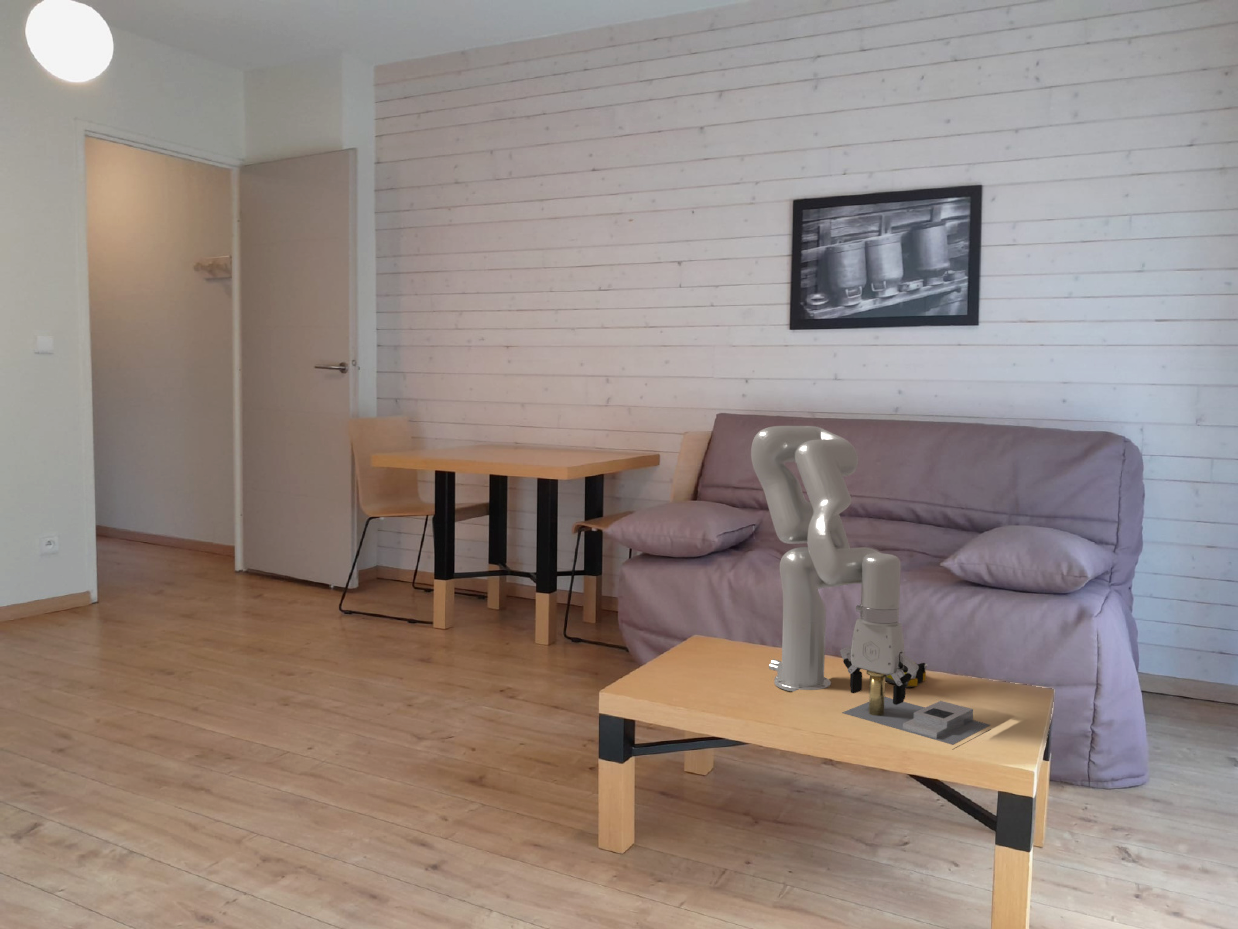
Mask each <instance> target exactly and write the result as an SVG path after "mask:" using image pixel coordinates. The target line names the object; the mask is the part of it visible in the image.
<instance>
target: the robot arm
mask: <svg viewBox="0 0 1238 929" xmlns="http://www.w3.org/2000/svg"><path fill="white" fill-rule="evenodd" d="M750 449H751V450H750V459H751V464H752V467H753V471H754V472H755V475H756V477H757V479H758V481H759V483H760V486H761V487H762V490H763V493H764V495H765V499H766V504H767V507H768V511H769V514H770V518H771V521H772V524H773V528H774V531H775V534H776V536H777V538H778V539H779V541H780V542H782V543H784V544H788V545H789V544H792V545H796V544H807V546H801V547H795V548H792V549H789V550H788V551H786V552H785V553H784V554H783V555H782V557H781V559H780V562H779V575H780V582H781V589H782V641H781V642H782V644H781V648H782V649H781V661H780V660H778V659H775V658H773V659H772V660H771V661H770V663H769V665H768V669H769V670H772V671H776V672H777V675H776V676H775V677H774V681H773V683H774V685H775V686H776V687H777V688H780V689H782V690H783V691H788V692H791V691H792V692H795V691H796V692H797V691H799V690H801V691H802V690H803V691H816V690H818V691H819V690H823V689H826V688H829V687H830V686H832V685H831V684H832V681H831V680H830V679H828V678H827V677H825V659H826V658H825V655H826V653H825V652H826V651H825V650H826V627H827V626H826V625H827V624H826V623H827V622H826V620H827V619H826V617H827V610H826V605H825V603H824V600H823V598H822V596H821V595H820V593H819V590H820V589H828V588H836V587H842V586H846V585H847V586H848V585H859V584H860V585H861V591H860V592H861V593H860V604H858V605H856V606H855V611H856V612H859V618H857V619H856V620H855V624H854V628H853V633H852V639H851V645H849V646H847V647H843V648H841V649H839V653H840V656H841V658H842V662H843V664H844V665H845V667H846V669H847V672H848V674H850V675H849V676H850V677H849V679H850V680H849V686H850V693H851V694H856V693H858V692H861V691H862V689H863V672H862V671H861V670H864V671H867V670H868V671H872V672H876V673H880V674H884V675H891V676H892V677H893V679H894V681H895V682H896V684H893V690H892V699H893V704H895V705H898V704H900V703H902V702H905V700H906V689H907V688H906V683H908V682H909V681H910V680H911V679H912V678H913V677H914V675H915V674H916V672H917V670H918V668H919V666H918V665H917V664H918V663H916V662H915V661H913V660H912V659H911V658H909V657H908V656H907V655H905V654H906V653H905V638H904V630H903V626H902V623H901V622H900V621H899V620H900V618H899V617H900V597H901V596H900V595H901V594H900V593H901V592H900V591H901V570H902V569H901V564H902V563H901V560H900V558H899V557H898V556H897V555H894V554H891V553H882V552H880V551H878V550H876V549H874V548H872V547H868V546H867V547H865V546H863V547H851V546H850V543H849V540H848V536H847V533H846V530H845V526H844V524H843V520H842V518H841V515H840V514H841V513H843V512H845V510H847V509H848V508H849V506H850V505H851V504H852V497H851V494H850V492H849V489H848V487H847V483H846V481H845V478H844V477H849V476H851V475H852V474H854V473H855V471H856V470H857V468H858V466H859V457H858V456H859V455H858V453H857V450H856V448H855V447H854V445H853V444H852V443H851V442H850V441H849V440H847V439H846V438H845V437H842V436H840V435H837V434H835V433H833V432H831V431H829V430H827V429H825V428H822V427H819V426H815V425H774V426H769V427H766V428H763V429H761V430H759V431H758V432H757V433H756V434H755V435H754V438H753V440H752V443H751V448H750ZM786 463H795V464H796V467H797V470H798V472H799V473H798V474H799V475H800V478H801V482H802V484H803V486H804V489H805V491H806V494H807V496H808V500H809V501H808V500H807V499H806V497H805V495H804V492H803V489H802V485H801V483H800V481H799V479H798V477H797V476H796V475H795V474H794V473H793V472H792V470H790V469H789V467H788V466H786ZM914 662H915V663H914ZM904 665H905V666H906V667H907V668H908V671H907V673H906V674H905V673H904V672H903V669H904Z"/></svg>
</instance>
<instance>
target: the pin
mask: <svg viewBox="0 0 1238 929" xmlns="http://www.w3.org/2000/svg"><path fill="white" fill-rule="evenodd" d="M866 675H868V676H869V692H868V694H869V696H868V698H869V699H868V702H869V714H871V715H875V716H882V715H884V698H885V697H886V696H885V695H886V682H885V677H887V676H889V675H884V674H880V673H876V672H872V671H868V670H866Z"/></svg>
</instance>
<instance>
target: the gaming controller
mask: <svg viewBox="0 0 1238 929" xmlns="http://www.w3.org/2000/svg"><path fill="white" fill-rule="evenodd" d="M913 662H914V663H916V662H915V661H913ZM916 664H917V665H918V666H919V668H918V670H917V672H916V674H915V675H914V677H913V678H912V679H911V680H910V681H909V682H908V683H906V688H905V689H908V688H914V687H918V685H920V684H922V682H924V681H926V678H927V677H926V676H927V672H926V670H927V669H928V666H929V665H928V664H927V663H926V662H921V663H920V662H919V663H916ZM907 671H908V668H907V667H906V666H905V665H904V669H903V672H904V673H905V674H906V673H907ZM885 683H889V684H892V685H896V682H895V681H894V679H893V677H892V676H891V675H889V676H887V677H885Z"/></svg>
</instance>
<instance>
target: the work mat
mask: <svg viewBox="0 0 1238 929" xmlns="http://www.w3.org/2000/svg"><path fill="white" fill-rule="evenodd" d="M925 707H926V706H925ZM925 707H924V706H921V705H918V704H914V703H910V702H907V701H903V702H902V703H900V704H898V705H895V704H893V698H892V697H887V696H885V698H884V715H882V716H875V715H871V714H869V701H867V702H864V703H863V704H859V705H858V706H855V707H852V708H850V709H847V710H845V711H843V712H842V713H841V714H844V715H849V716H851V717H855V718H858V719H862V720H865V721H869V722H872V723H876V724H880V725H882V726H884V727H885V726H886V727H888V728H889V727H890V728H893V729H896V730H899V731H903V732H906V733H911V734H914V735H917V736H921V737H924V738H928V739H930V740H934V741H939V742H941V743H945V744H949V745H951V746H952V745H956V744H957V743H959V742H961V741H963V740H965V739H966V738H968V737H971V736H973V735H975V734H976V733H978V732H980V731H982V730H984V729H986V728H988V727H990V726H991V724H989V723H986V722H983V721H982V722H981V721H978V720H975V719H973V721H972V722H970V723H968V724H966V725H963V726H961V727H959V728H957V729H955V730H953V731H951V732H949V733H947V734H945V735H943V736H941V737H939V738H937V739H935V738H932V737H928V736H925V735H921V734H918V733H914V732H911V731H907V730H904V729H903V723H905V722H907V721H909V720H911V719H913V717H914V712H916V711H919V710H921V709H923V708H925ZM989 731H991V728H990V729H987V730H986V731H984V732H983V733H980V734H979V735H977V736H975V737H973V738H970V739H969V740H967V741H966V742H964V743H961V744H960V745H957V746H956V747H954V748H952V749H951V750H955V749H957V748H959V747H961V746H963V745H964V744H966V743H968V742H970V741H972V740H974V739H976V738H977V737H980V736H981V735H983V734H986V733H987V732H989Z"/></svg>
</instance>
